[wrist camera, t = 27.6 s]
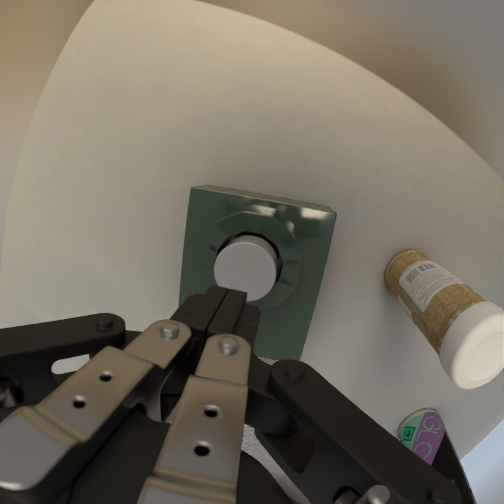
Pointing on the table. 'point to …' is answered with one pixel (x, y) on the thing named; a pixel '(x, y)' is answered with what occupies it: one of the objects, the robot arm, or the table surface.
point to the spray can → (435, 448)
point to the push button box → (284, 244)
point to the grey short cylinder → (247, 266)
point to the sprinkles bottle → (450, 318)
